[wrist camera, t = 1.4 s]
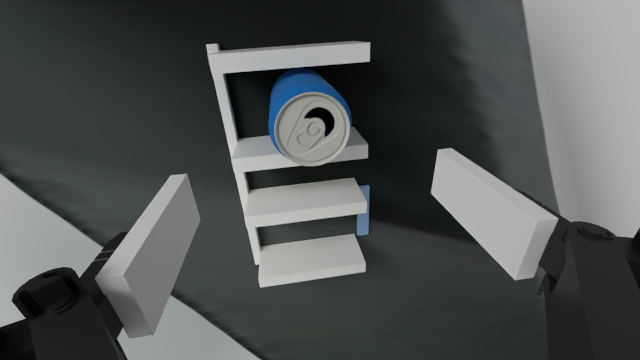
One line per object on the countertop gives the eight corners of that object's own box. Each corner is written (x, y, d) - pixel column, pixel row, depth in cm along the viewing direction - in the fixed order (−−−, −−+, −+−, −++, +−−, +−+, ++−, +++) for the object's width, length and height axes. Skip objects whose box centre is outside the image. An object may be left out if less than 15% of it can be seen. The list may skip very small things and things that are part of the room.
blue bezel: (356, 186, 37) (357, 187, 37) (368, 184, 38) (369, 186, 37) (356, 234, 41) (357, 235, 41) (367, 232, 41) (368, 234, 41)
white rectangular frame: (208, 44, 28) (192, 46, 22) (353, 33, 29) (370, 34, 24) (256, 258, 41) (253, 292, 35) (354, 244, 42) (365, 275, 37)
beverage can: (341, 96, 32) (373, 128, 21) (302, 138, 33) (314, 186, 23) (298, 53, 29) (311, 64, 19) (258, 100, 31) (249, 135, 20)
